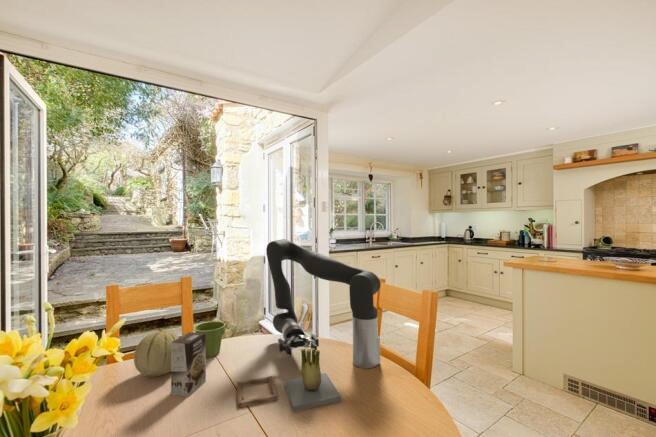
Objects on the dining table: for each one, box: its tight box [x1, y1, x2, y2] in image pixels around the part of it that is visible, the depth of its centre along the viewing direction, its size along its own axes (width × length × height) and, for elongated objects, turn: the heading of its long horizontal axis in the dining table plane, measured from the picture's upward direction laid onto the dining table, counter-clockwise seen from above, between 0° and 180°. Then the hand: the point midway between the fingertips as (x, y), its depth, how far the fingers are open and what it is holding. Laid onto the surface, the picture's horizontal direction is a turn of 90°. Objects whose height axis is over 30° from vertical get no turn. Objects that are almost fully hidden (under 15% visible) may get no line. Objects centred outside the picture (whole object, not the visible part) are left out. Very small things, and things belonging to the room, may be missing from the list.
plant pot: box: [193, 320, 226, 358], centre depth 120 cm, size 12×12×11 cm
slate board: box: [284, 372, 342, 412], centre depth 92 cm, size 14×14×2 cm
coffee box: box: [170, 332, 207, 397], centre depth 95 cm, size 9×6×16 cm
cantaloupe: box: [133, 328, 180, 378], centre depth 104 cm, size 15×15×15 cm
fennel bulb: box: [300, 347, 322, 391], centre depth 92 cm, size 6×5×12 cm
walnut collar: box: [236, 375, 278, 408], centre depth 92 cm, size 11×12×1 cm
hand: (303, 351), depth 102 cm, fingers open, 8 cm apart
